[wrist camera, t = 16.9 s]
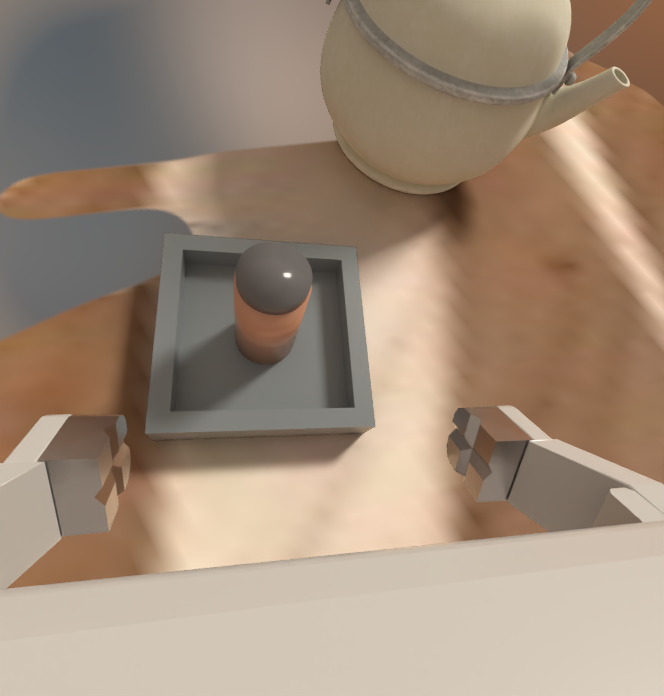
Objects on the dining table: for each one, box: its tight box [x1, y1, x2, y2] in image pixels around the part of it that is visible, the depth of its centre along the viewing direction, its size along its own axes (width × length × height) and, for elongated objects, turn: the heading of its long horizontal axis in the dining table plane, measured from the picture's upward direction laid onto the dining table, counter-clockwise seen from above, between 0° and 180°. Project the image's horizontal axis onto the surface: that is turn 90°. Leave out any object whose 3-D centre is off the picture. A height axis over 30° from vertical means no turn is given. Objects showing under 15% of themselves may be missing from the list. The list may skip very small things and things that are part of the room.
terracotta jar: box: [234, 242, 313, 364], centre depth 23 cm, size 4×4×8 cm
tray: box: [145, 233, 375, 441], centre depth 27 cm, size 13×13×2 cm
